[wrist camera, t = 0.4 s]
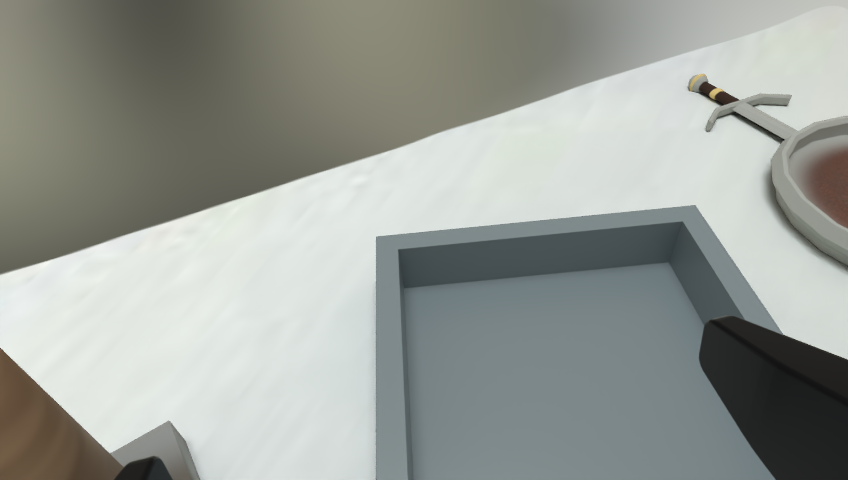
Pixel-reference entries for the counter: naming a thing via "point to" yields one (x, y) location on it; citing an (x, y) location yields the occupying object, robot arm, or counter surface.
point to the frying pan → (801, 168)
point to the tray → (557, 351)
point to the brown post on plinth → (69, 438)
